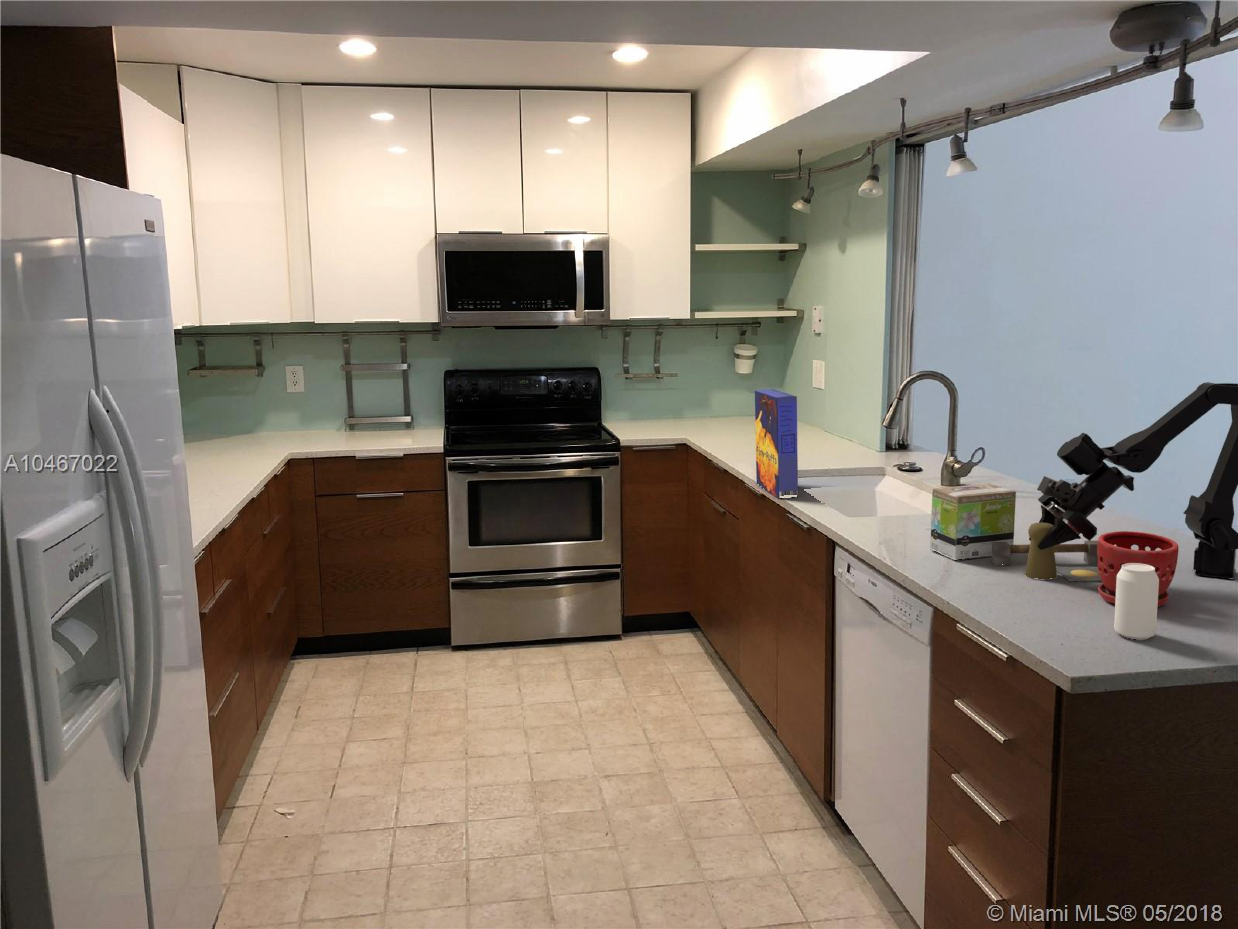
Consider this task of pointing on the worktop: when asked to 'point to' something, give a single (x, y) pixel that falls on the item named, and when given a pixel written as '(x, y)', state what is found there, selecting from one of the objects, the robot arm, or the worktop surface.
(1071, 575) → the pad
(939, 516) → the tea box
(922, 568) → the worktop surface
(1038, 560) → the cork
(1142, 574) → the beverage can
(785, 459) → the cereal box
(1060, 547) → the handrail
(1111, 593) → the plant pot
